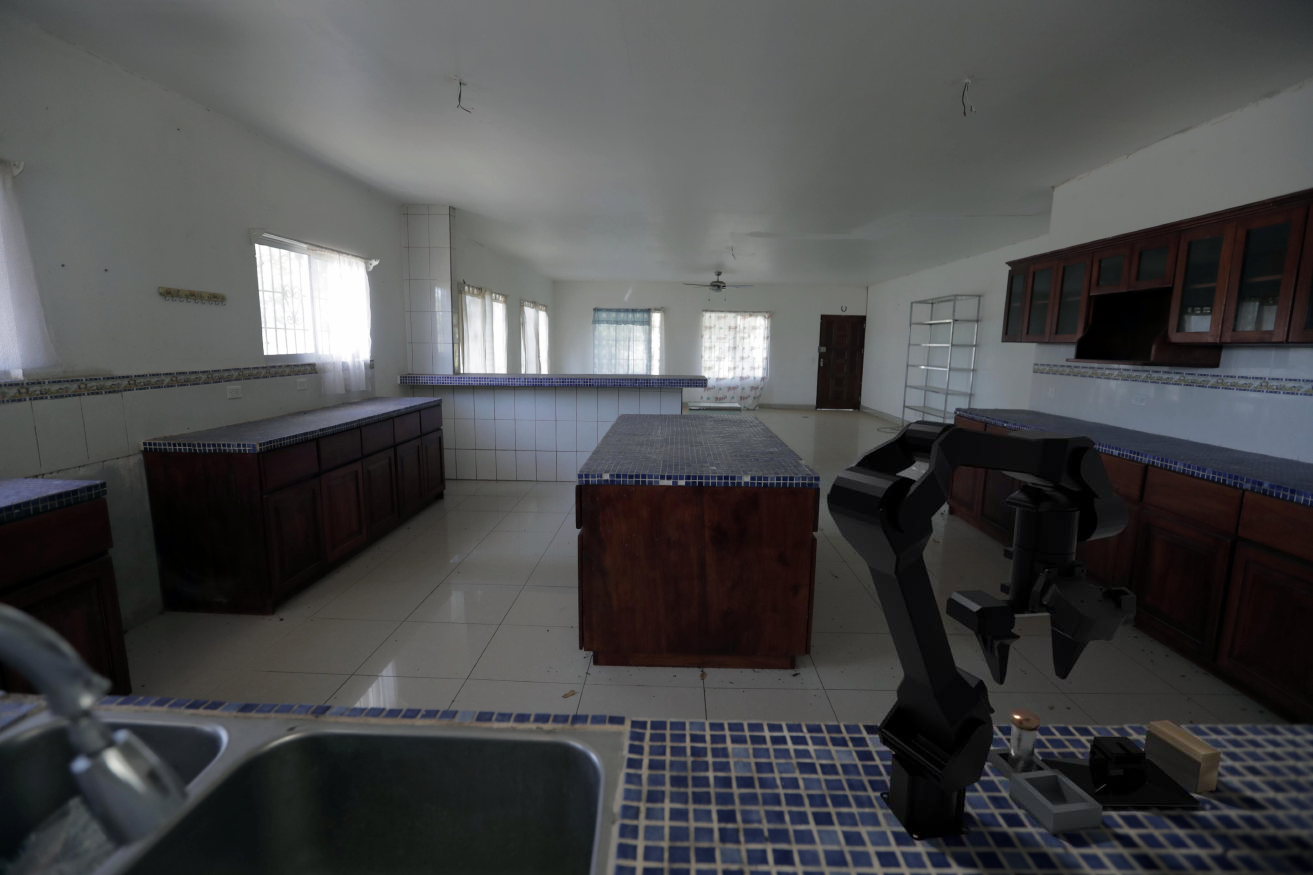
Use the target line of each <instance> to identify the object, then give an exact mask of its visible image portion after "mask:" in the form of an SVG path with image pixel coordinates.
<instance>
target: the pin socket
mask: <svg viewBox="0 0 1313 875" xmlns="http://www.w3.org/2000/svg"><path fill="white" fill-rule="evenodd" d="M1009 749H1010V747H1001V748H994V749H991V748H990V751H989V754H988V757H987V760H986V761H988V762H989V763H990V764H992V765H993V767H994V768H995V769H997V770H998V771H999V772H1000V773H1001V774H1002V775H1003V776H1004V777H1005V778H1006V779H1007V780H1009V782H1011V774H1017V773H1018V772H1017V771H1016V770H1015V769H1013V768H1012V767H1011V766H1010V765H1009V764H1008V759H1009ZM1043 770H1052V769H1050V768H1049V767H1048V766H1047V765H1046V764H1044V763H1043V762H1042V761H1041V759H1039V757H1037V756H1036V755H1035V754H1034V761H1033V771H1043Z"/></svg>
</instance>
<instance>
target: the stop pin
mask: <svg viewBox="0 0 1313 875" xmlns="http://www.w3.org/2000/svg"><path fill="white" fill-rule="evenodd" d="M1010 723H1011V732H1010V740H1009V748H1010V749H1009V759H1008V760H1007V763H1008V764H1009V765H1010V766H1011V767H1012V768H1013V769H1015V770H1016V771H1017V772H1018V773H1026V772H1033V771H1034V769H1033V761H1034V755H1035V750H1036V741H1037V732H1038V730H1039V729H1040V723H1041V718H1040V717H1039V716H1038V714H1035V713H1034V712H1032V711H1030V710H1027V709H1023V708H1014V709H1012V710H1011V711H1010Z"/></svg>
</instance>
